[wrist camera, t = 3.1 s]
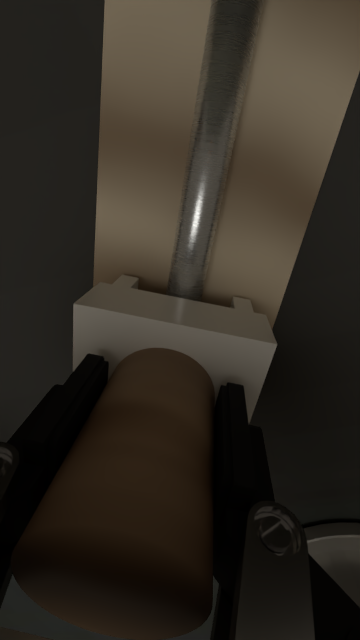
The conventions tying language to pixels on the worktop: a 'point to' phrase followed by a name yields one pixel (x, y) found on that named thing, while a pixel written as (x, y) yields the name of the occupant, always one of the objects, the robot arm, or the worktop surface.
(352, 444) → the worktop surface
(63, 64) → the worktop surface
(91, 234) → the worktop surface
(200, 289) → the rail base
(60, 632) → the worktop surface
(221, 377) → the carriage
